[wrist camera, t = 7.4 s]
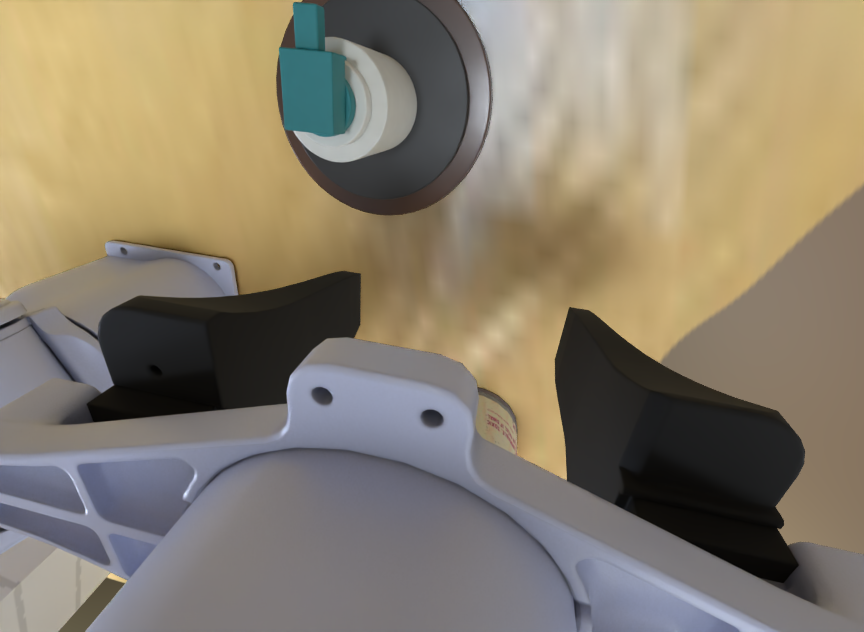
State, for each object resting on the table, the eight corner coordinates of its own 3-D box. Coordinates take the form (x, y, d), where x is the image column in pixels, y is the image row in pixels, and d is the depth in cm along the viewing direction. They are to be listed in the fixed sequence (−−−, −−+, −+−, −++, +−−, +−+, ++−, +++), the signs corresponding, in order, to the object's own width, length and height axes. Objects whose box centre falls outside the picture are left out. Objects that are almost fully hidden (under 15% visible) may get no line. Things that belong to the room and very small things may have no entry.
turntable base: (293, 198, 24) (283, 202, 23) (276, -39, 19) (263, -47, 18) (475, 223, 23) (474, 229, 22) (510, -26, 18) (510, -33, 17)
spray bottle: (457, 208, 22) (428, 253, 15) (298, 186, 23) (206, 218, 16) (482, -4, 17) (458, -71, 11) (286, -17, 19) (154, -87, 12)
